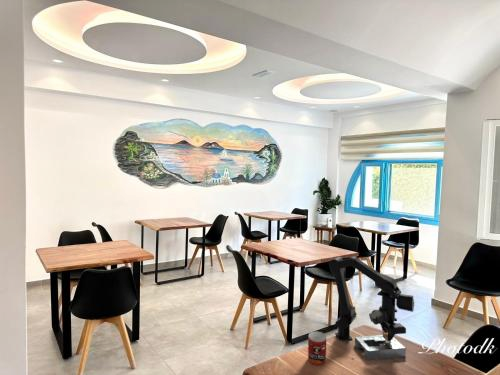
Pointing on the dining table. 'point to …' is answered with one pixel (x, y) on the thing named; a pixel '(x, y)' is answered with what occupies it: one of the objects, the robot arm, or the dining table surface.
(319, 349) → the canned food
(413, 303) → the robot arm
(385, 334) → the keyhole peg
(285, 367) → the dining table surface
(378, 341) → the keyhole plate
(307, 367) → the dining table surface
